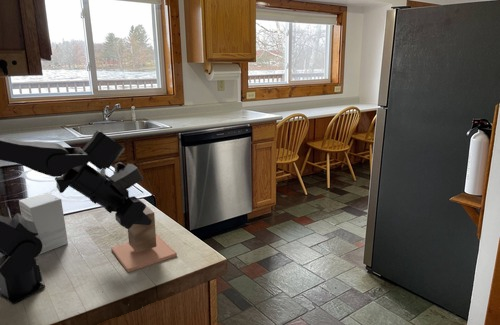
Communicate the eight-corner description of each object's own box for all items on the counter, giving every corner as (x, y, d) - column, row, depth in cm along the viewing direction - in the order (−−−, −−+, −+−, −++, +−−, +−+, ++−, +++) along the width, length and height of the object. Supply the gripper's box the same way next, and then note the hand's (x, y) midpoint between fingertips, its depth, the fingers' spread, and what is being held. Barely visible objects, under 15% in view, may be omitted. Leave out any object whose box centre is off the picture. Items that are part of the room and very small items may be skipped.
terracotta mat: (128, 272, 83) (127, 269, 82) (111, 250, 92) (111, 247, 92) (176, 255, 90) (176, 252, 89) (156, 236, 99) (156, 234, 99)
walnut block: (136, 252, 87) (133, 217, 84) (129, 244, 91) (126, 210, 88) (156, 246, 90) (154, 212, 87) (148, 238, 93) (146, 205, 91)
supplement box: (55, 235, 99) (48, 191, 96) (68, 244, 95) (62, 198, 91) (26, 245, 94) (17, 199, 90) (38, 255, 89) (30, 207, 86)
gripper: (132, 165, 74) (184, 204, 84) (105, 147, 88) (152, 182, 98) (96, 210, 72) (153, 245, 81) (74, 184, 86) (124, 216, 96)
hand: (146, 219), depth 89 cm, fingers closed on walnut block, 5 cm apart
